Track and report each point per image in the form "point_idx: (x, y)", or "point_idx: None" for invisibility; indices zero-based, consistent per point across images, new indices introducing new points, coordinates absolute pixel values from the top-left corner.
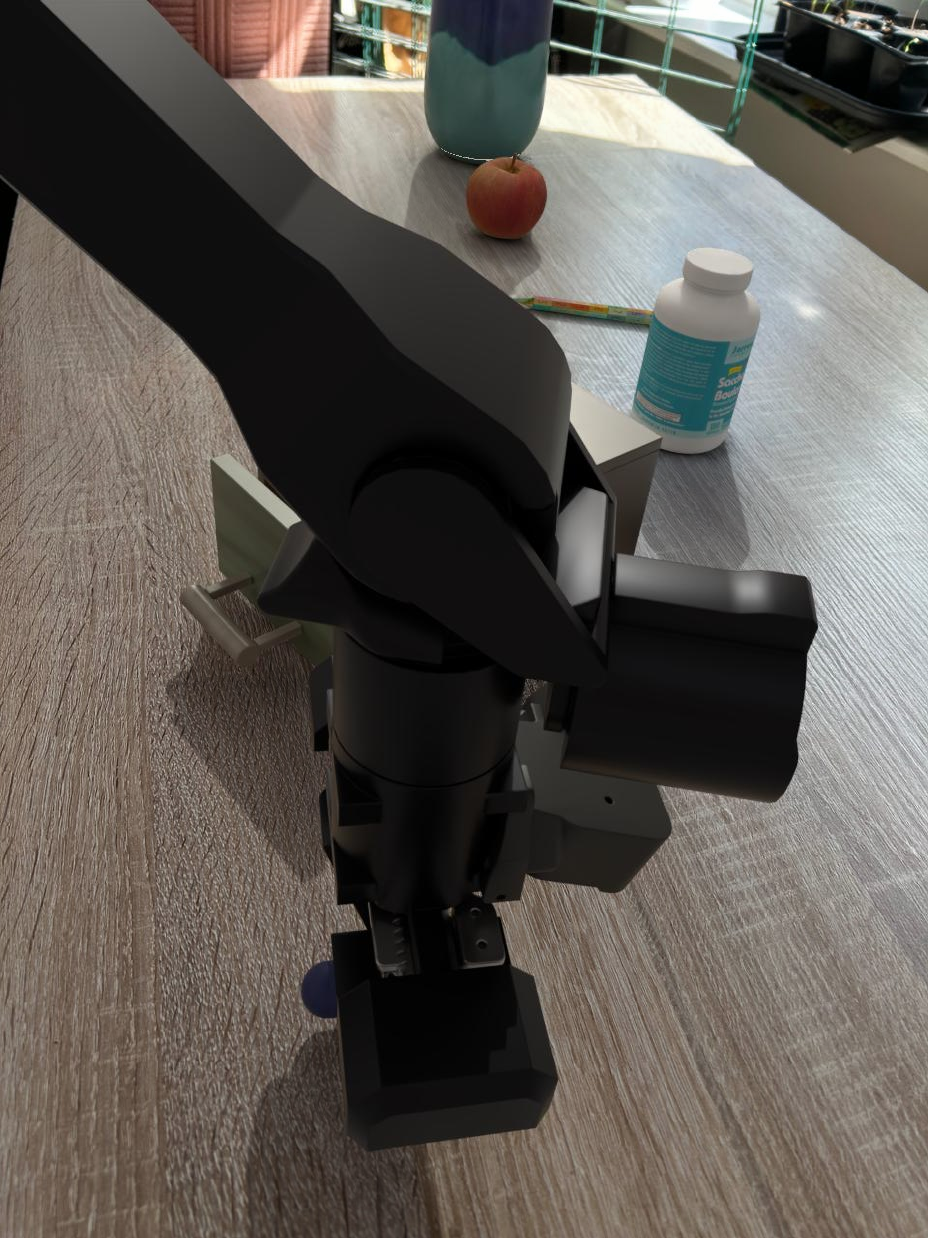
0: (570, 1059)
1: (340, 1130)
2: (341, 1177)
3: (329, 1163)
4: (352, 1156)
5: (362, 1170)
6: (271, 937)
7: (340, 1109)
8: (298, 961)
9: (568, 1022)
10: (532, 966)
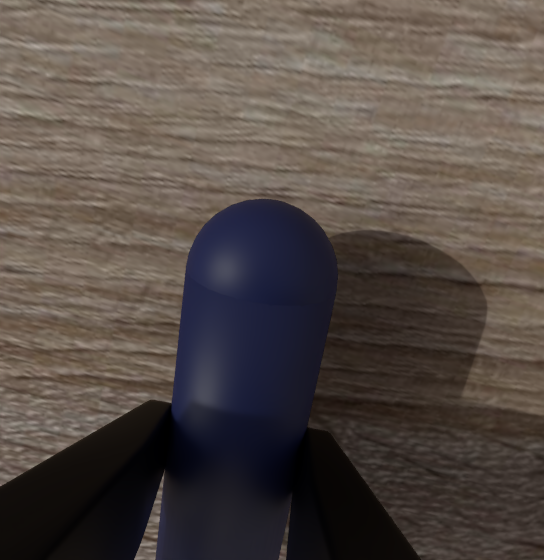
0: (505, 51)
1: (441, 526)
2: (515, 543)
3: (485, 552)
4: (491, 521)
5: (520, 515)
6: None
7: (407, 517)
8: None
9: (412, 13)
10: (234, 51)
